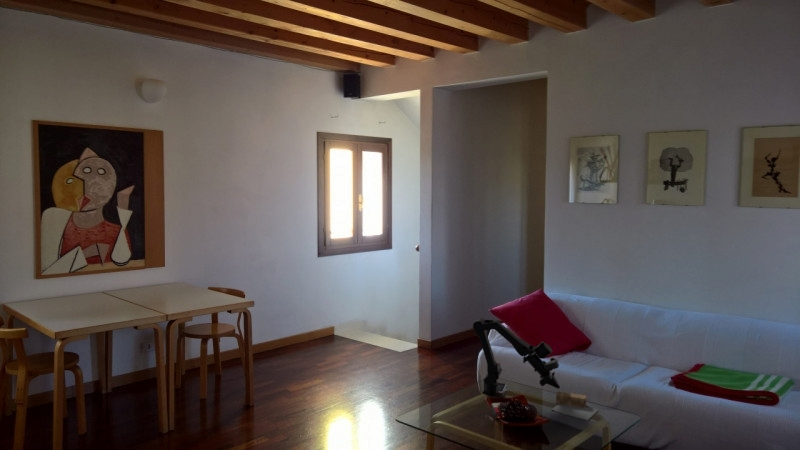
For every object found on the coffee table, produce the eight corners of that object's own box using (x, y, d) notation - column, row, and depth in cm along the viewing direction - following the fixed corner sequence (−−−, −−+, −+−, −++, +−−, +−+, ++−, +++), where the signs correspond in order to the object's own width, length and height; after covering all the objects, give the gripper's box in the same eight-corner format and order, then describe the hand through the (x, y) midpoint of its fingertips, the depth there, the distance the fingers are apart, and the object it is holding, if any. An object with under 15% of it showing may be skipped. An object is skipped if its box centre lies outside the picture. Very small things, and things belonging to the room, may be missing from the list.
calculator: (490, 402, 289) (521, 400, 289) (490, 410, 289) (521, 408, 290) (495, 412, 278) (526, 410, 278) (495, 420, 279) (526, 418, 279)
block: (556, 394, 294) (585, 398, 289) (557, 391, 299) (586, 395, 293) (556, 403, 295) (585, 407, 290) (557, 399, 299) (586, 404, 294)
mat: (551, 410, 288) (551, 409, 287) (562, 401, 298) (562, 400, 298) (587, 420, 277) (587, 419, 277) (598, 410, 288) (598, 409, 288)
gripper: (547, 360, 287) (569, 385, 284) (551, 348, 304) (573, 372, 302) (530, 373, 291) (552, 398, 288) (535, 361, 308) (556, 384, 305)
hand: (559, 388), depth 296 cm, fingers closed
